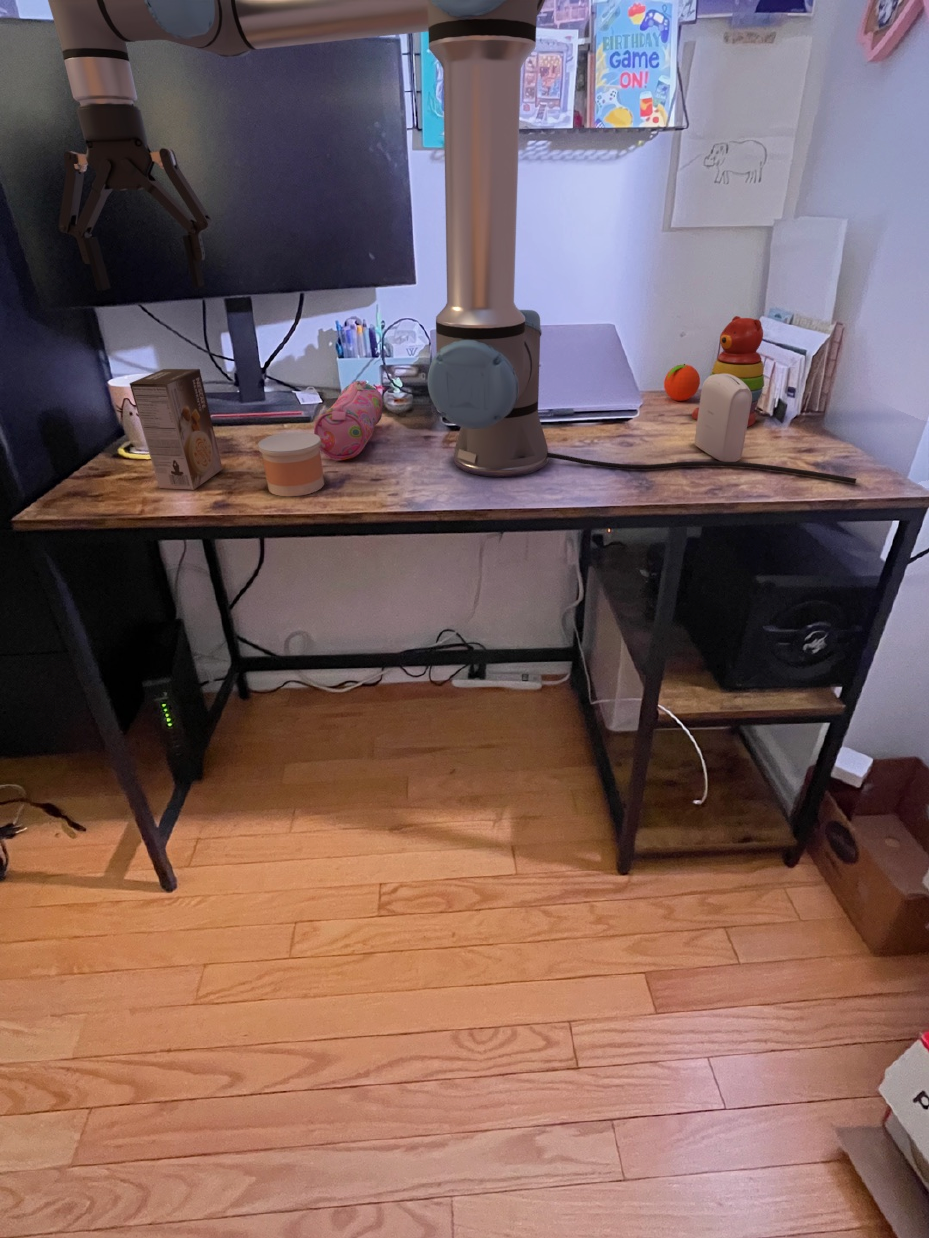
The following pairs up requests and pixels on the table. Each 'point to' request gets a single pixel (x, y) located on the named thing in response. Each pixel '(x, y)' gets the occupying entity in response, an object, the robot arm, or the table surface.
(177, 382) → the coffee box
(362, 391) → the pencil case
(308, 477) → the yogurt pot
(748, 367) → the stacking bear
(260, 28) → the robot arm
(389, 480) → the table surface
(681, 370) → the clementine
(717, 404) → the photo printer
